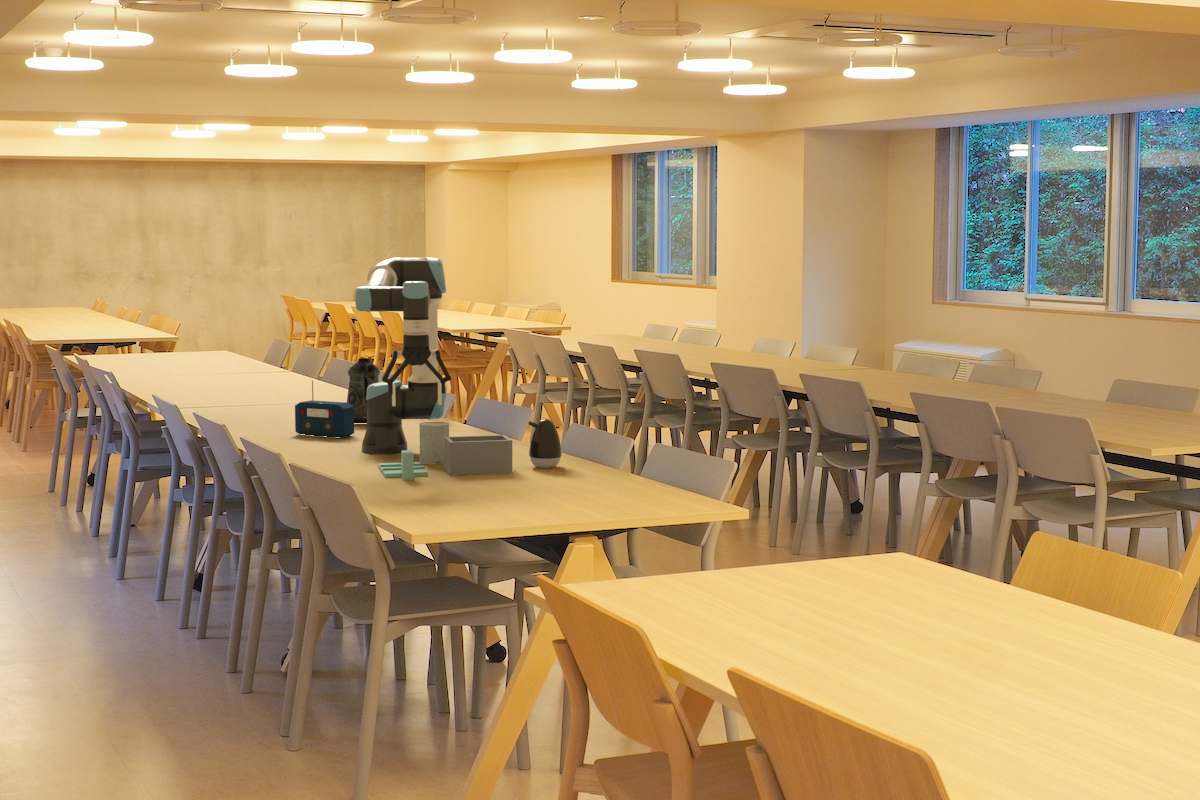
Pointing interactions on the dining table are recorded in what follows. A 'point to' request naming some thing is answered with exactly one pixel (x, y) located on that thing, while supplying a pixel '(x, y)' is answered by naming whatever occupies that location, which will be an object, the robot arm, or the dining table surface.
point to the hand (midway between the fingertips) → (416, 405)
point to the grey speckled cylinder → (433, 442)
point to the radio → (324, 418)
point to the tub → (477, 455)
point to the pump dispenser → (545, 445)
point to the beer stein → (361, 387)
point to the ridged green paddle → (403, 467)
